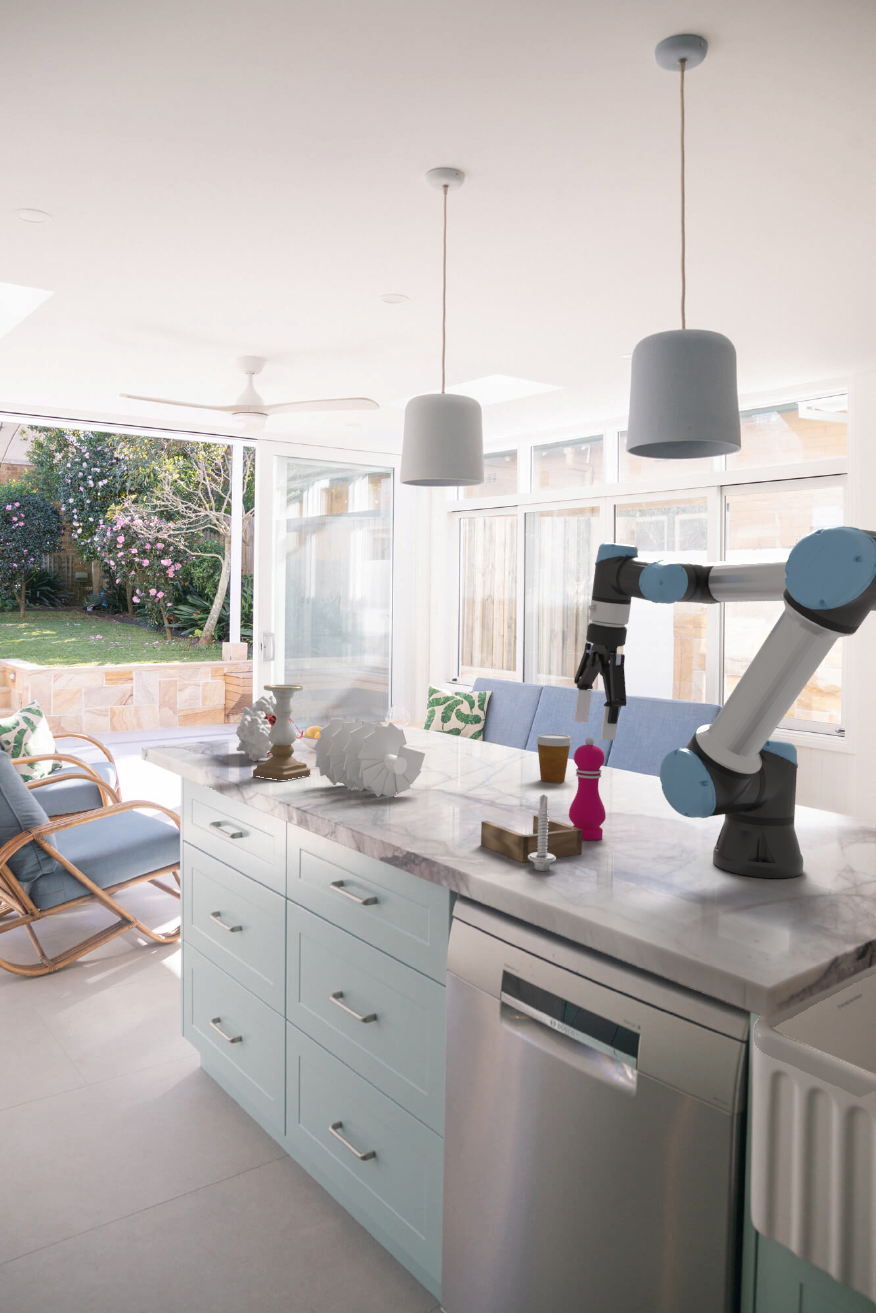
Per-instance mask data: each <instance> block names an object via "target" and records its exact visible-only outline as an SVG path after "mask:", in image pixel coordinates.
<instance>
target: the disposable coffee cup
mask: <svg viewBox="0 0 876 1313" xmlns="http://www.w3.org/2000/svg"><path fill="white" fill-rule="evenodd" d="M535 741H536V744H537V750H538V753H537V754H538V764H539V772H540V773H539V774H540V781H542V782H545V783H555V784H557V783H564V782H565V780H566V773H567V766H568V760H569V754H570V748H571V745H572V743H573V741H572V738H571V736H570V735H567V734H566V735H565V734H557V733H543V734H542V733H541V734H538V735H537V738H536V739H535Z"/></svg>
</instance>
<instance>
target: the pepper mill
mask: <svg viewBox="0 0 876 1313" xmlns="http://www.w3.org/2000/svg"><path fill="white" fill-rule="evenodd" d="M584 742H585V744H583V745H581V746H579V747H578V748H576V750H575V751H574V755H573V761H574V764H575V765H576V766H577V768H575V772H576V773H575V776H576V777H577V782H578V783H577V789H576V790H577V791H576V794H575V796H574V798H573V800H572V802H571V804H570V807H569V811H568V818H569V820H570V821H571V823H573V825H572V826H573V827H576V828H579V829H582V841H592V842H593V841H599V840H602V839H603V831H604V830H603V828H602V827H601V826H602V825H603V824H604V822H605V821H606V816H607V815H606V810H605V806H604V803H603V801H602V799H601V795H600V792H599V781H600V778H602V770H601V767H602V766H603V765H604V763H605V754H604V751H603V750H602V749H601V748H600V747H599V746H597V745H595V739H594V738H593V737H591V736H588V737H586V738H585V740H584Z"/></svg>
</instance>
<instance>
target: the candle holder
mask: <svg viewBox="0 0 876 1313" xmlns="http://www.w3.org/2000/svg"><path fill="white" fill-rule="evenodd" d="M303 689H304V687H303V686H302V685H298V684H267V685H264V686H263V690H265V691H266V692H267V691H268V692H272V696H273V697H274V700H275V701H276V706H275V708H274V709H273V712H275V715H276V722H275V724H274V726H273V727H272V729H271V730H270V732H269V736H268V738H269V741H270V742H271V743H272V744H274V745H273V747H272V748H271V753H270V754H271V755H272V756H271V757H270V758H268V759H267V760H266V761H264V762H260V763H258V764H257V765H256V768H255V769H252V777H253V776H260V777H264V778H272V779H277V780H288V779H292V778H298V777H302V776H308V777H310V776H311V769H310V768H309V767H308V765H307V763H306V762H301V761H298V760H297V759H296V758H295V757H293V756H292V755H293V754H294V753H295V749H294V748H293V746H292V744H294V743H295V742H296V741H297V738H296V737H298V735H297V732H296V730H295V729H294V727H293V725H292V723H290V721H291V720H290V721H289V717H290V718H291V715H292V712H293V711H294V709H293V708H292V706H291V699H292V698H293V697H294V694H295V692H300V691H302V690H303ZM296 735H297V736H296ZM309 775H310V776H309Z"/></svg>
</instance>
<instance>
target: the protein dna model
mask: <svg viewBox="0 0 876 1313" xmlns="http://www.w3.org/2000/svg"><path fill="white" fill-rule="evenodd" d="M275 706H276V699H275V697H274V696H273V695H270V696H269V698H268V697H267V696H264V695H262V696H261V697H260V698H259V699H258V700H256V701H255V702H254V703H252V702H251V704H250V705H249V707H250V708H248V706H244V707H241V709H240V711H241V713H243V715H242V716H241V720H240V723H239V725H238V726H237V728H236V732H235V734H236V736H237V737H238V740H239V741H240V742H239V743H238V746H237V747H236V751H237V752H244V753H245V755H249V756H248V759H249V760H251V761H252V762H254V761H256V762H258V761H259V760H261V759H262V758H267V757H268V755H270V754H271V748H272V747H273V745H274V744H272V743H271V742H270V741H269V738H268V736H269V732H270V730H271V729H272V727H273V726H274V724H275V722H276V715H275V712H273V709H274V708H275ZM289 721H290V723H291V722H292V723H294V721H293V719H292V718H291V716H290V717H289ZM292 723H291V724H292ZM294 726H295V728H296V729H297V730H298V732H299V734H301V735H300V736H299V737H298V735H297V734H296V736H297V737H296V740H299V739H301V738H302V737H303V736H304V730H302V731H300V730H299V728H298V726H297V725H294ZM267 754H268V755H267ZM257 760H258V761H257Z"/></svg>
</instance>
